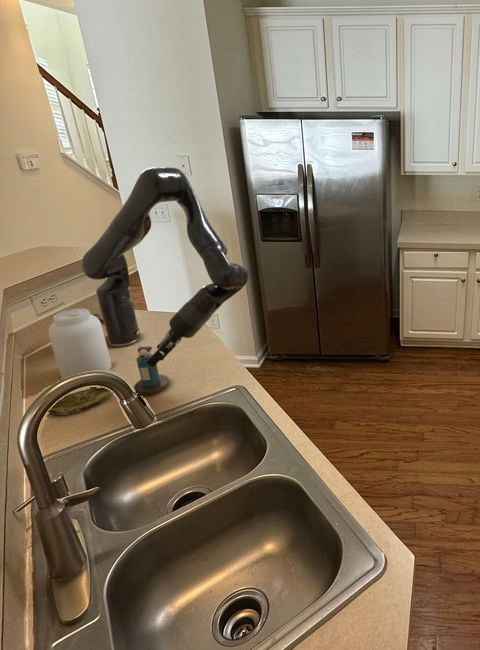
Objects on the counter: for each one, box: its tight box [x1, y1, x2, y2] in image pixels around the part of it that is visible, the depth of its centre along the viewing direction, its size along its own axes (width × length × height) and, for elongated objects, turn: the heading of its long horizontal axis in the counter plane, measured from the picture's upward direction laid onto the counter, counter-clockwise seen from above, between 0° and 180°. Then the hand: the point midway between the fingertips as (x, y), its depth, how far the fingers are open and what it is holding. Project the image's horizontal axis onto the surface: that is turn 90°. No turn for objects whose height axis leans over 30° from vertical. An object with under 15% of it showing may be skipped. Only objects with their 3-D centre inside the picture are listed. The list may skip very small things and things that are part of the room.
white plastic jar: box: [47, 307, 112, 379], centre depth 127 cm, size 12×12×20 cm
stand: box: [133, 374, 170, 397], centre depth 124 cm, size 9×9×2 cm
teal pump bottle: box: [136, 346, 160, 387], centre depth 122 cm, size 5×4×11 cm
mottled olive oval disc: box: [47, 386, 114, 416], centre depth 117 cm, size 9×5×15 cm
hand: (155, 356), depth 122 cm, fingers open, 8 cm apart
